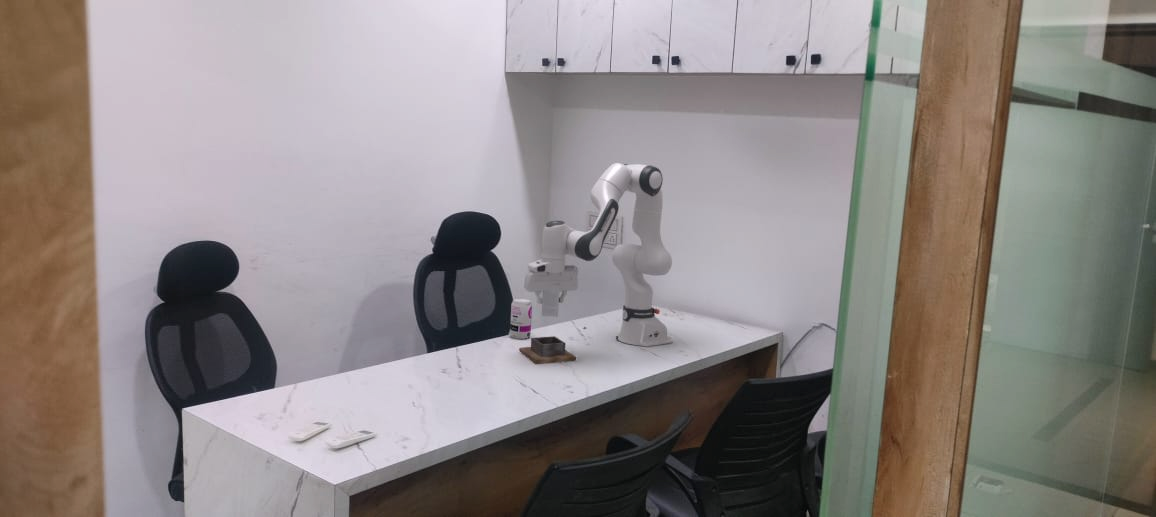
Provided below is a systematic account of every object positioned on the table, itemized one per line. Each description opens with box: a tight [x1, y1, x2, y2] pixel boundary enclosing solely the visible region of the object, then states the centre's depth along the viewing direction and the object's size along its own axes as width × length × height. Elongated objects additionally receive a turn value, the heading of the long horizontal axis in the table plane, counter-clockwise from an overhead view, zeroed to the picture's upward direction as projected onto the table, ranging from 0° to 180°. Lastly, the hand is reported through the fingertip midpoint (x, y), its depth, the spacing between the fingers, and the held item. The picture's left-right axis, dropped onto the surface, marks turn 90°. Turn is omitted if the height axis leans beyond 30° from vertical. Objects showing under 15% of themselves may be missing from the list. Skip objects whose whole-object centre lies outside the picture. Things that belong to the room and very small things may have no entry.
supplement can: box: [509, 297, 533, 340], centre depth 316 cm, size 8×8×15 cm
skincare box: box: [541, 284, 560, 318], centre depth 289 cm, size 6×4×12 cm
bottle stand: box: [518, 335, 577, 365], centre depth 292 cm, size 16×16×6 cm
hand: (550, 302), depth 290 cm, fingers closed on skincare box, 7 cm apart
